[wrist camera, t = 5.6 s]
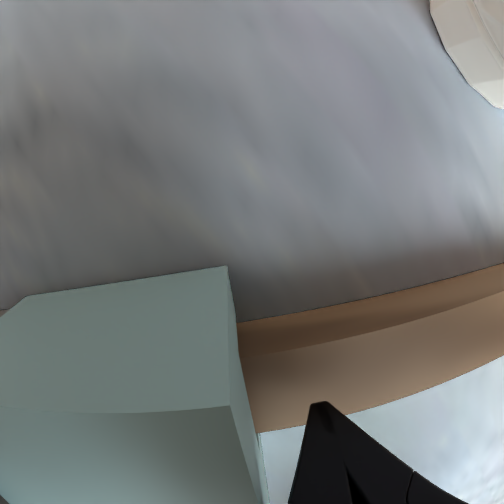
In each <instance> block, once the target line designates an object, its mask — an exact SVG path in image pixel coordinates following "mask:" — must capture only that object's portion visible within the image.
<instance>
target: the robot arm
mask: <svg viewBox="0 0 504 504" xmlns="http://www.w3.org/2000/svg"><path fill="white" fill-rule="evenodd" d="M288 504H468V503H466V502H464V501H462V500H460V499H458V498H456V497H455V496H453V495H451V494H449V493H447V492H446V491H444V490H442V489H440V488H439V487H437V486H436V485H434V484H433V483H431V482H430V481H428V480H427V479H425V478H424V477H423V476H421V475H420V474H419V473H417V472H416V471H414V472H413V469H412V468H411V467H409V466H408V465H407V464H405V463H404V462H403V461H401V460H400V459H399V458H397V457H396V456H395V455H393V454H392V453H391V452H390V451H388V450H387V449H386V448H385V447H383V446H382V445H381V444H379V443H378V442H377V441H376V440H374V439H373V438H372V437H371V436H369V435H368V434H367V433H366V432H364V431H363V430H362V429H361V428H359V427H358V426H357V425H356V424H355V423H353V422H352V421H351V420H350V419H348V418H347V417H346V416H345V415H344V414H342V413H341V412H340V411H339V410H338V409H336V408H335V407H334V406H333V405H332V404H331V403H329V402H328V401H321V402H316V403H312V404H311V405H310V408H309V413H308V418H307V423H306V427H305V432H304V437H303V441H302V446H301V450H300V455H299V459H298V463H297V468H296V472H295V476H294V480H293V484H292V488H291V492H290V496H289V499H288Z"/></svg>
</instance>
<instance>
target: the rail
mask: <svg viewBox="0 0 504 504" xmlns="http://www.w3.org/2000/svg"><path fill="white" fill-rule="evenodd" d="M9 310H10V309H7V310H0V317H1V316H3V315H4V314H5V313H6V312H7V311H9ZM236 326H237V340H238V353H239V358H240V363H241V368H242V373H243V377H244V382H245V387H246V391H247V396H248V401H249V405H250V410H251V415H252V419H253V424H254V428H255V433H262V432H268V431H274V430H280V429H285V428H291V427H296V426H301V425H306V423H307V418H308V413H309V408H310V405H311V404H312V403H316V402H321V401H328V402H329V403H331V404H332V405H333V406H334V407H335V408H336V409H338V410H339V411H340V412H341V413H342V414H344V415H348V414H352V413H355V412H359V411H362V410H366V409H369V408H373V407H376V406H379V405H383V404H386V403H389V402H392V401H395V400H398V399H401V398H404V397H407V396H410V395H413V394H415V393H418V392H421V391H423V390H426V389H429V388H431V387H434V386H437V385H439V384H442V383H444V382H446V381H449V380H451V379H454V378H456V377H458V376H461V375H463V374H465V373H467V372H470V371H472V370H474V369H476V368H478V367H481V366H483V365H485V364H487V363H489V362H491V361H493V360H495V359H497V358H499V357H501V356H503V355H504V263H501V264H498V265H495V266H491V267H488V268H484V269H481V270H478V271H474V272H471V273H467V274H463V275H460V276H456V277H452V278H449V279H445V280H441V281H437V282H434V283H430V284H426V285H422V286H418V287H414V288H410V289H406V290H401V291H397V292H393V293H389V294H384V295H380V296H376V297H371V298H367V299H362V300H358V301H353V302H348V303H343V304H339V305H334V306H329V307H324V308H319V309H314V310H308V311H303V312H298V313H292V314H287V315H281V316H276V317H270V318H264V319H258V320H252V321H246V322H239V323H236ZM0 504H9V503H8V502H7V501H6V500H5V499H4V498H3V497H2V496H1V495H0Z"/></svg>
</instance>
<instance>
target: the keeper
mask: <svg viewBox="0 0 504 504" xmlns="http://www.w3.org/2000/svg"><path fill="white" fill-rule="evenodd" d="M0 495H1V496H2V497H3V498H4V499H5V500H6V501H7V502H8V503H9V504H270V502H269V495H268V488H267V481H266V474H265V467H264V460H263V453H262V446H261V439H260V433H255V428H254V424H253V419H252V415H251V410H250V405H249V401H248V396H247V391H246V387H245V382H244V377H243V373H242V368H241V363H240V358H239V353H238V340H237V326H236V312H235V307H234V302H233V296H232V291H231V285H230V280H229V274H228V269H227V265H226V266H220V267H214V268H207V269H201V270H195V271H188V272H182V273H176V274H169V275H163V276H156V277H150V278H144V279H137V280H131V281H124V282H118V283H111V284H104V285H98V286H91V287H85V288H78V289H71V290H65V291H58V292H51V293H44V294H38V295H31V296H26V297H25V298H24V299H22V300H21V301H20V302H19V303H17V304H16V305H15V306H14V307H12V308H11V309H10V310H9V311H7V312H6V313H5V314H4V315H3V316H1V317H0Z"/></svg>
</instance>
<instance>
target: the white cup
mask: <svg viewBox="0 0 504 504" xmlns="http://www.w3.org/2000/svg"><path fill="white" fill-rule="evenodd" d="M430 14H431V16H432V18H433V21H434V23H435V25H436V28H437V30H438V33H439V35H440V38H441V40H442V43H443V45H444V48H445V50H446V52H447V53H448V54H449V56H450V57H451V59H452V60H453V61H454V63H455V64H456V66H457V67H458V69H459V70H460V72H461V73H462V75H463V76H464V78H465V79H466V81H467V82H468V84H469V85H470V86H471V87H472V88H474V89H475V90H476V91H477V92H478V93H479V94H481V95H482V96H483V97H484V98H485V99H486V100H487V101H488V102H489V103H491V104H492V105H493V106H494V107H496V108H500V109H504V0H430Z"/></svg>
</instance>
